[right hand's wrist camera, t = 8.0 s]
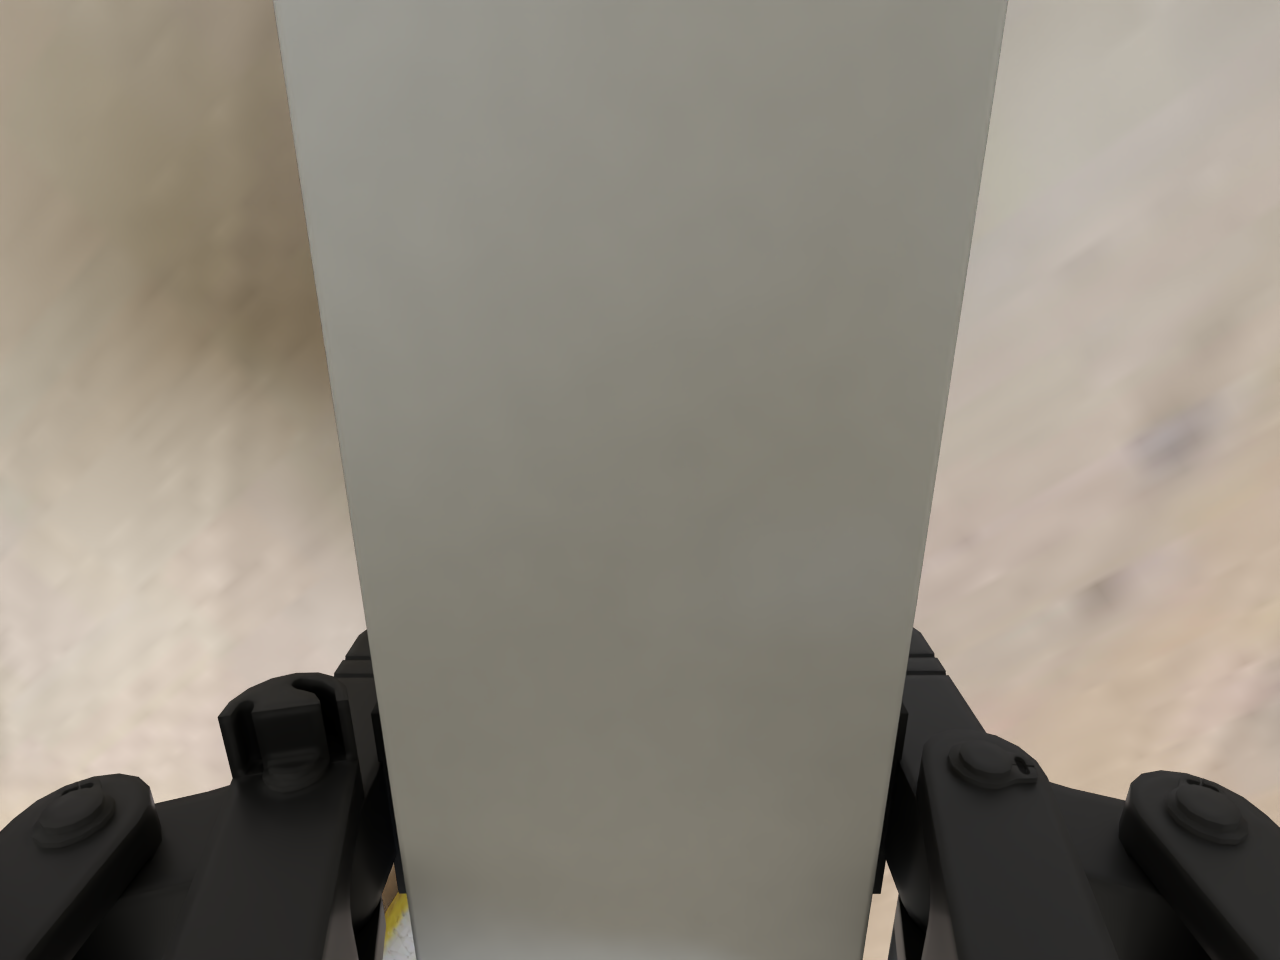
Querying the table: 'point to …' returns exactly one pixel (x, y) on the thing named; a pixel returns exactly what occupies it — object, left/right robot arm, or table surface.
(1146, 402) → the table surface
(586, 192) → the bar
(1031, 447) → the table surface
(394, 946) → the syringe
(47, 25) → the table surface
